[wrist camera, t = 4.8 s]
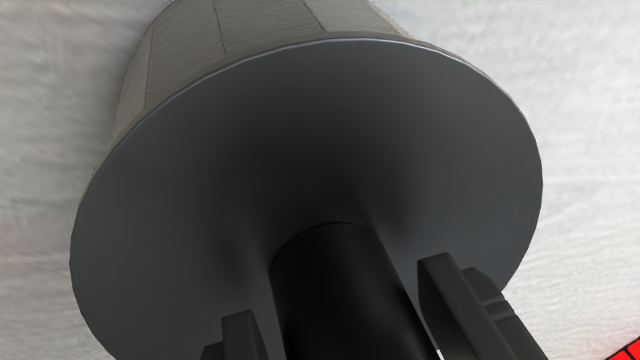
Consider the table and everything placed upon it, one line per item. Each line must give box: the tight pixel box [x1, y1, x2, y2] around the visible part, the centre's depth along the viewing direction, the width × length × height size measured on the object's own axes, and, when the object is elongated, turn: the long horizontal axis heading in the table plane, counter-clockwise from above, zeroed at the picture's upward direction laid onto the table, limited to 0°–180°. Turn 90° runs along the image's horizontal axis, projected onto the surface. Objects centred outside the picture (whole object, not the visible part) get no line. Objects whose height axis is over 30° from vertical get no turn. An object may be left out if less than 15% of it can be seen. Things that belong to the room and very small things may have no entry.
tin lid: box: [69, 31, 543, 360], centre depth 11 cm, size 13×13×7 cm
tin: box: [110, 0, 414, 144], centre depth 17 cm, size 12×12×8 cm
